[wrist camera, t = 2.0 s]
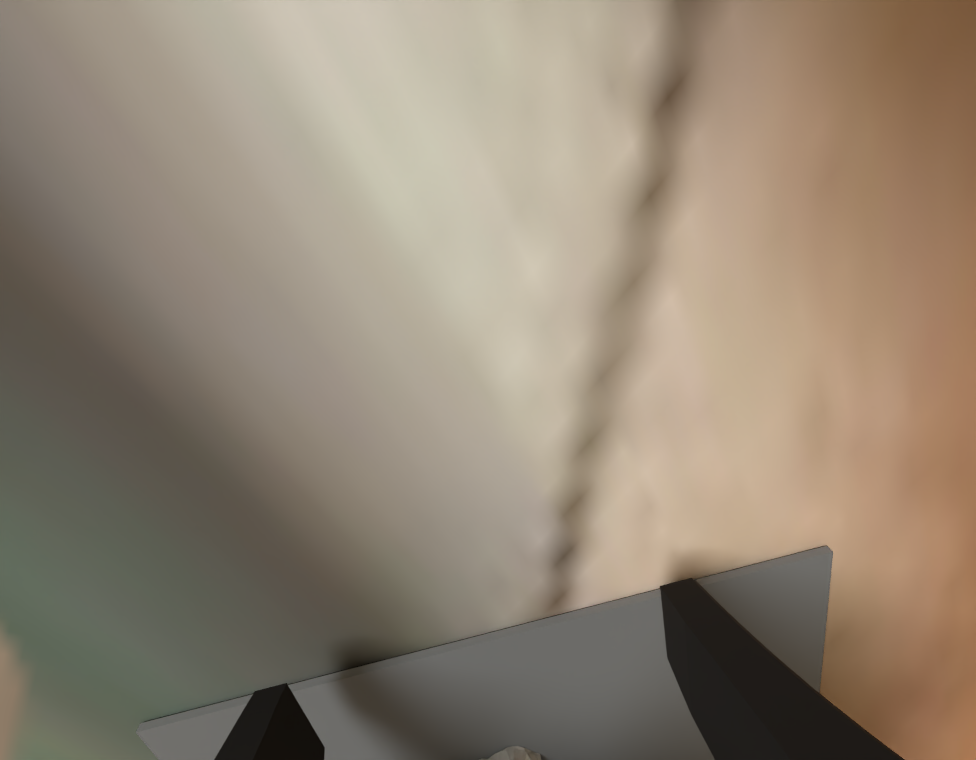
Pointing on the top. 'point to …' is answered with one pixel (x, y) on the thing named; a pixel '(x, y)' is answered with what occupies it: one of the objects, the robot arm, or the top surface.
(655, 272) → the top surface
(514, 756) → the egg carton
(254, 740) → the robot arm
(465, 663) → the lane mat
